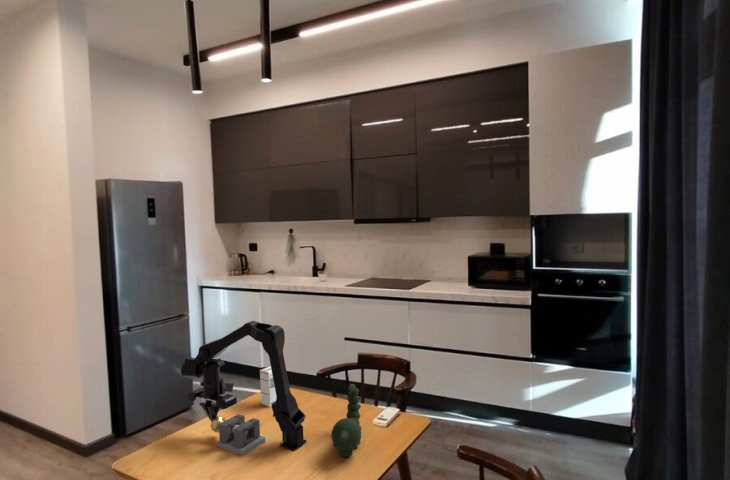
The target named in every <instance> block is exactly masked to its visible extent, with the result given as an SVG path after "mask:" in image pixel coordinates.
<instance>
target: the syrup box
mask: <svg viewBox="0 0 730 480" xmlns="http://www.w3.org/2000/svg"><path fill="white" fill-rule="evenodd" d="M259 378H260V380H259V381H260V395H261V398H260V399H261V404H262V405H264V406H266V407H269V408H272V404H273V403H274V402H275V401H276V391H275V386H274V381H273V375H272V370H271V365H270V366H268V367H265V368H262V369H259Z"/></svg>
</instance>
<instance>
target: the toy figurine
mask: <svg viewBox="0 0 730 480" xmlns="http://www.w3.org/2000/svg"><path fill="white" fill-rule="evenodd" d="M347 390H348V395H347V401H348V402H347V403H348V404H347V407H346V408H347V409H346V410H347V412H346V418H341V419H339V420H338V421H336V423H334V425H333V427H332V429H331V440H332V444H333V447H335V448H337V449H339V450H338V453H339V455H340V456H341V457H343V458H350V457H351V456H352V455H353V453H354V452H353V450H354V449H355V448H357V447H359V446H360V445H361V440H362V426H361V424H360V418H361V414H360V412H359V410H360V409H361V407H362V406H361V404H359V402H360V401H359V400H361V396H359V392H360V389H359V388H357V387H356V385H355V384H354V383H350V384H349V385H348V389H347ZM349 456H350V457H349Z"/></svg>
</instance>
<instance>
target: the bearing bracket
mask: <svg viewBox="0 0 730 480" xmlns="http://www.w3.org/2000/svg"><path fill="white" fill-rule="evenodd" d="M260 423H261V422H260V419H259V418H254V417H252V418H250V419H249V420H246V417H245V415H243V414H239V413H238V414H235V415H234V416H232V417H230V418H227V419H226V421H224V422H222V423H220V424H219V435H218V436H219V441H217V448H220V449H223V450H225V451H229V452H231V453H233V454H237V455H240V456H242V457H243V456H246V455H248V454H249V453H250V452H252V451H253V450H255V449H256V448H258V447H260V446H261V445H262V444H264V443H266V437H265V436H263V435H262V436H261V429H260V428H261V425H260ZM234 424H236V425H239V426H238V427H236V428H234V434H232V433H231V426H232V425H234ZM248 429H250V431H251V432H250V435H249V436H248V437H247V438H246V431H247V430H248Z"/></svg>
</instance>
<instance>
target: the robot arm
mask: <svg viewBox="0 0 730 480" xmlns="http://www.w3.org/2000/svg"><path fill="white" fill-rule="evenodd" d="M248 336H249V337H251V338H252V339H253V340H254V341H256V342H258V343H259V342H260V343H261V346H262V349H263V350H264V351H265V352H266V354H267V355H268V358H269V364H270V366H271V370H272V375H273V381H274V386H275V391H276V401H275V402H274V403H273V404H272V406H271V410H272V418H274V419H275V421H276V422H277V424H278V426H279V429H280V432H282V433H281V435H282V436H281V437H282V442H281V443H280V444H279V446H280V447H282V448H286V449H289V450H292V451H296V450H298V449H299V448H300V447H302V446H303V445H304V444H306V443H307V439H304V426H303V425H302V423H303V422H305V419H306V414H305V413H304V412H303V411H302V410H301V409H300V407H299V405H298V403H297V399H296V397H295V396H294V395H293V394H292V392H291V388H290V382H289V377H288V372H287V366H286V362H285V361H286V360H285V356H284V348H285V341H286V340H285V339H286V338H285V337H286V335H285V331H284V328H283V327H281V326H280V325H277V324H275V325H272V324H269V323H264V322H259V321H255V320H250V321H248V322H246V323H244V324H243V325H241V326H240V327H238V328H237V329H235V330H233V331H231V332H230V333H228V334H227V335H225V336H222V337H221V338H217V339H214V340H212V341H210V342H207V343H205V344H202V345H201V346H199V348H198V353H197V355H196V357H191V356H189V357H188V356H187V357H185V358H184V362H183V364H182V366H181V369H180V374H181V376H182V377H184V378H193V379H194V378H195V379H199V378H202V381H201V382H199V383H200V384H199V385H200V386H201V387H198V388H196V389H194V390H191V391H190V392H189V394H188V397H187V398H188V401H191V402H195V401H196V400H197V398H199V399H200V403H199V406H200V407H201V409H202V410H204V413H205V414H206V416H207V417H208V418H209V420H210V422H211V423H212V421H213V419H214V418H215V417H217V416H218V413H219V410H227V409H228V408H231V407H232V406H234V405H236V404H237V403H238V400H237V398H238V397H237V396H235V395H233V394H230V393H233V391H234V385H235V383H234V382H230V381H224V378H221V375H220V374H221V373H220V367H223V366H224V365H225V364H226V362H225V361H223V360H222V359H221V358H220V357H219V356H221V354H223V353H224V352H225V351H227V349H228V348H229V347H230V346H232V345H233V344H235V343H238V341H241V340H242V339H244V338H246V337H248ZM217 357H219V358H218V359H215V358H217ZM213 359H215V360H213ZM228 392H229V393H228ZM226 393H228V394H226Z"/></svg>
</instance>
